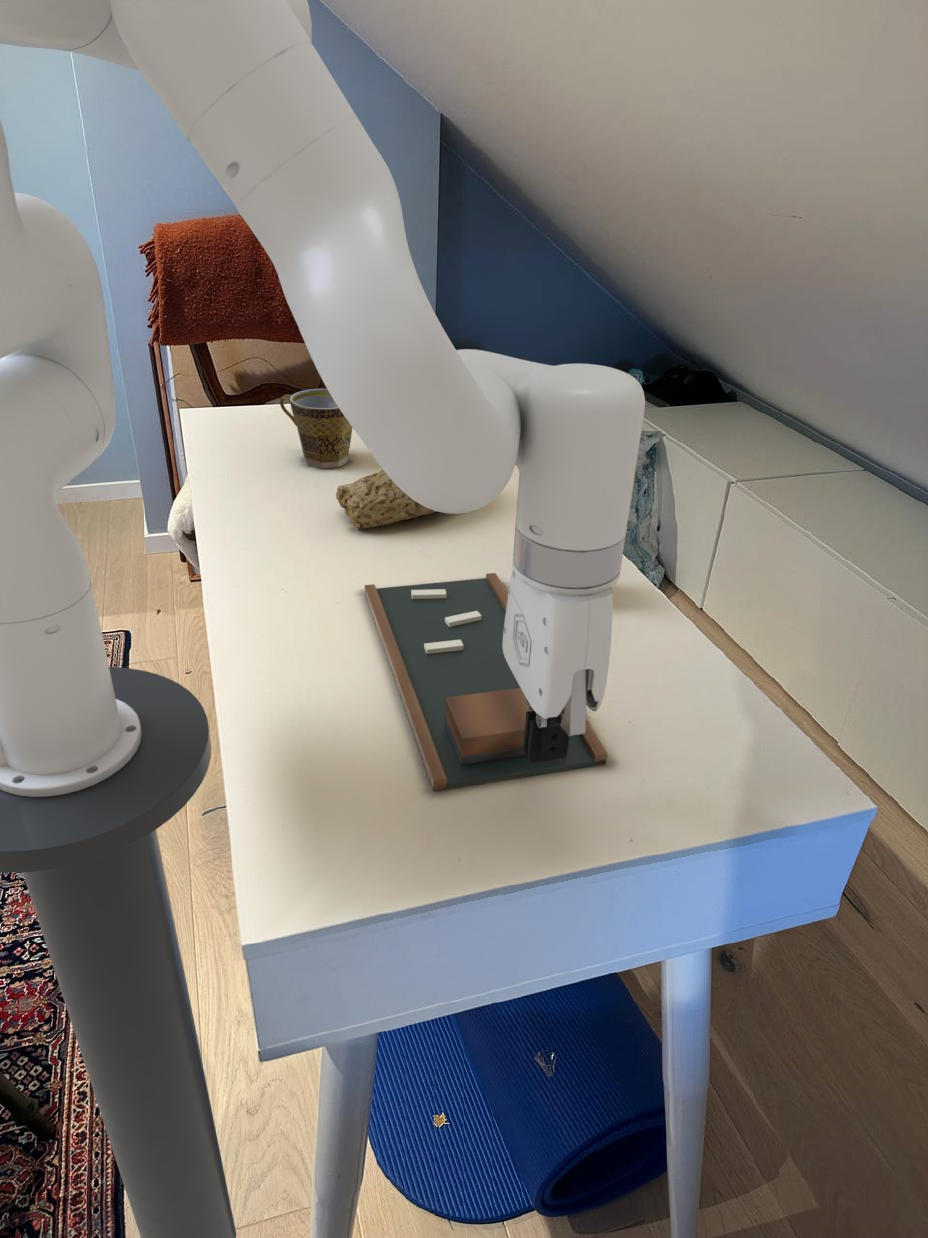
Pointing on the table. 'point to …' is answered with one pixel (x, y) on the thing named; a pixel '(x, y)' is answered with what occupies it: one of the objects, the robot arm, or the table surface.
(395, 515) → the sponge
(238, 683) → the table surface
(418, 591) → the white rectangular bar
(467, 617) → the chalk stroke
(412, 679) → the slate board
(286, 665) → the table surface
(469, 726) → the eraser
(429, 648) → the chalk stroke
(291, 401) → the ceramic cup
